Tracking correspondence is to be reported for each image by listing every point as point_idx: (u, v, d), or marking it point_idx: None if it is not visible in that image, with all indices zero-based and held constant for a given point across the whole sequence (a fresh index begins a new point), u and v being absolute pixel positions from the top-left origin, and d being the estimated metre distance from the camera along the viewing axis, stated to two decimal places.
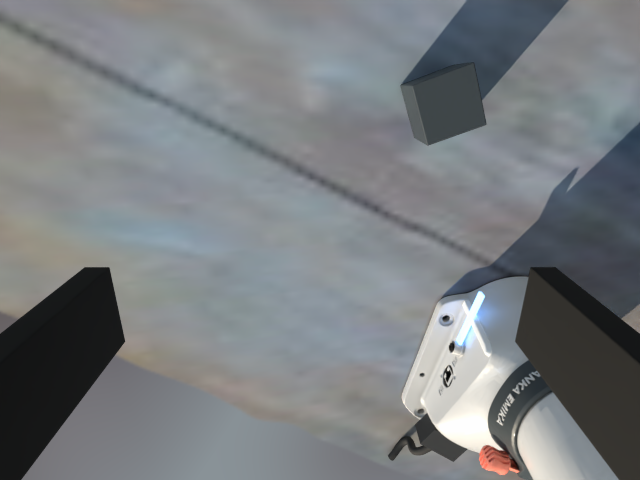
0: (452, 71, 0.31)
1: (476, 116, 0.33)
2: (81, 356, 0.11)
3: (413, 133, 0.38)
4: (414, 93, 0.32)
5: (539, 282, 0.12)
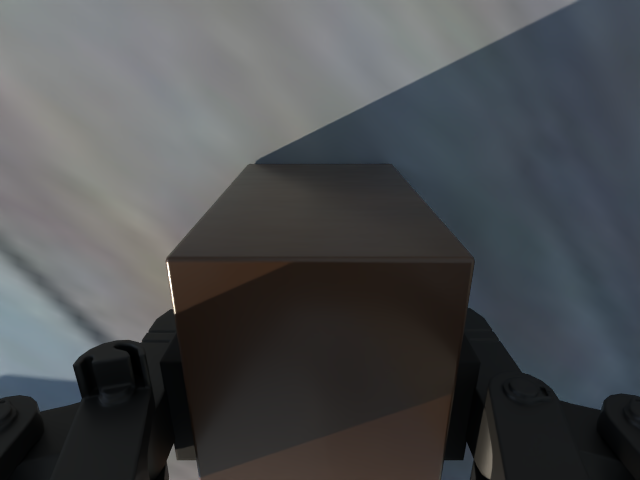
0: None
1: None
2: None
3: None
4: None
5: None
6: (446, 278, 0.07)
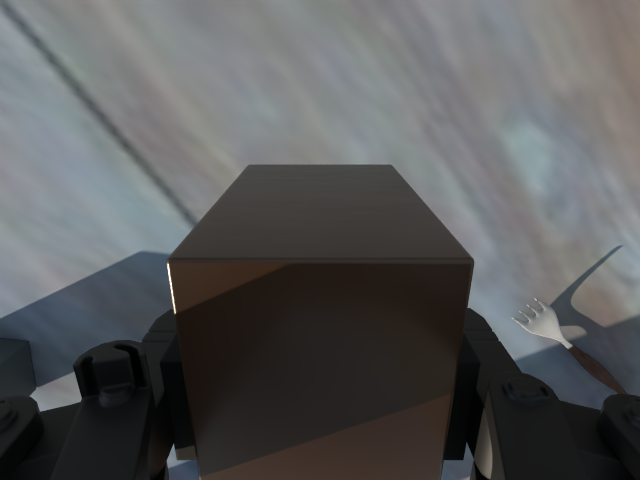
0: None
1: None
2: None
3: None
4: None
5: None
6: (446, 280, 0.07)
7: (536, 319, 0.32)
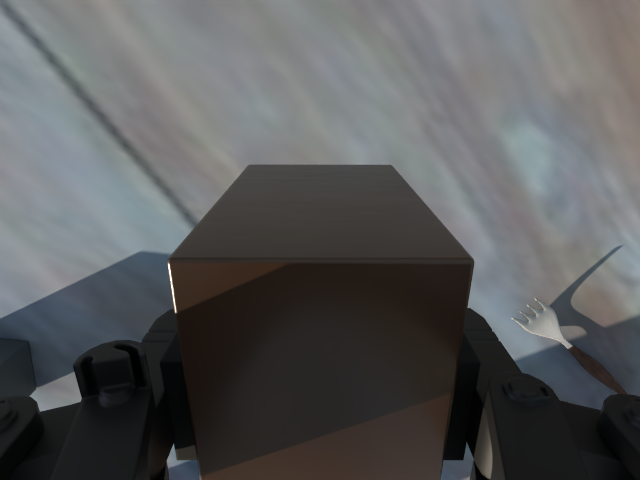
0: None
1: None
2: None
3: None
4: None
5: None
6: (446, 280, 0.07)
7: (536, 319, 0.32)
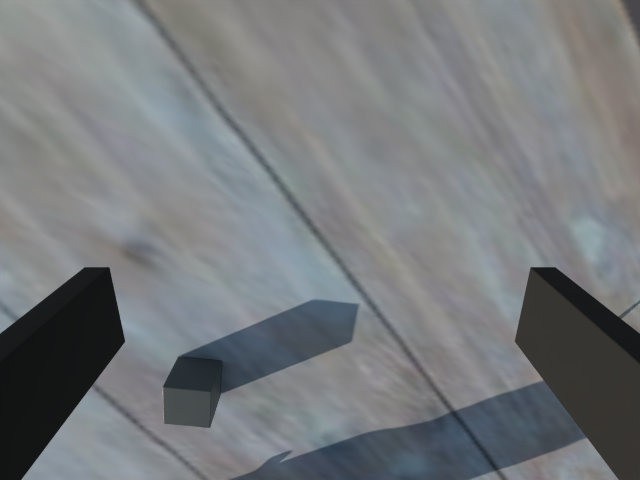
0: (194, 390, 0.41)
1: (204, 420, 0.43)
2: (81, 356, 0.11)
3: None
4: (163, 391, 0.42)
5: (539, 282, 0.12)
6: None
7: None
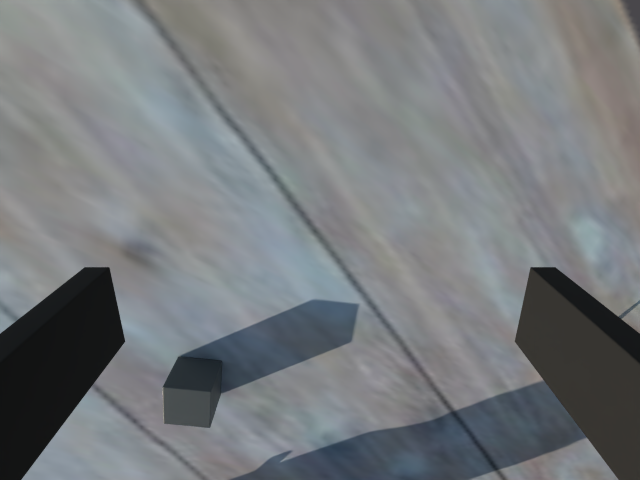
0: (194, 390, 0.41)
1: (204, 420, 0.43)
2: (81, 356, 0.11)
3: None
4: (163, 391, 0.42)
5: (539, 282, 0.12)
6: None
7: None
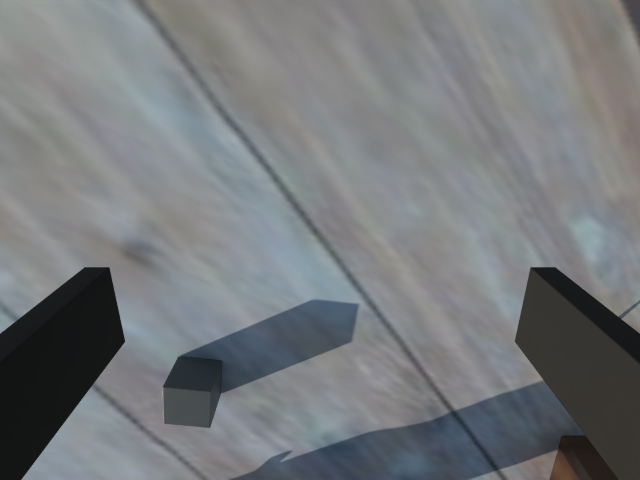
0: (194, 390, 0.41)
1: (204, 420, 0.43)
2: (81, 356, 0.11)
3: None
4: (163, 391, 0.42)
5: (539, 282, 0.12)
6: None
7: None
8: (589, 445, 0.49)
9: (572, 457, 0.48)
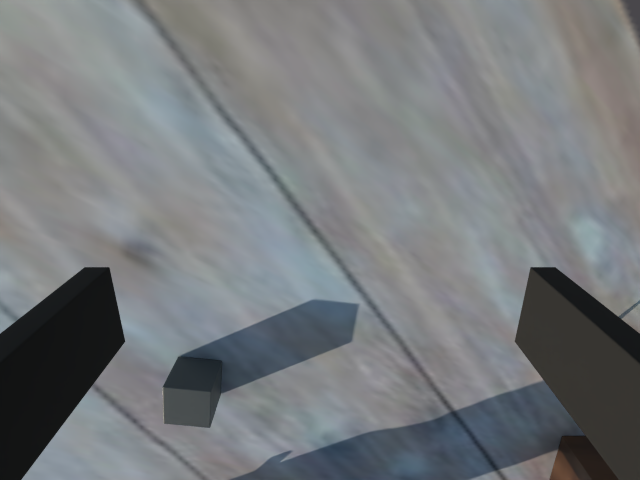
0: (194, 390, 0.41)
1: (204, 420, 0.43)
2: (81, 356, 0.11)
3: None
4: (163, 391, 0.42)
5: (539, 282, 0.12)
6: None
7: None
8: (589, 445, 0.49)
9: (572, 457, 0.48)
